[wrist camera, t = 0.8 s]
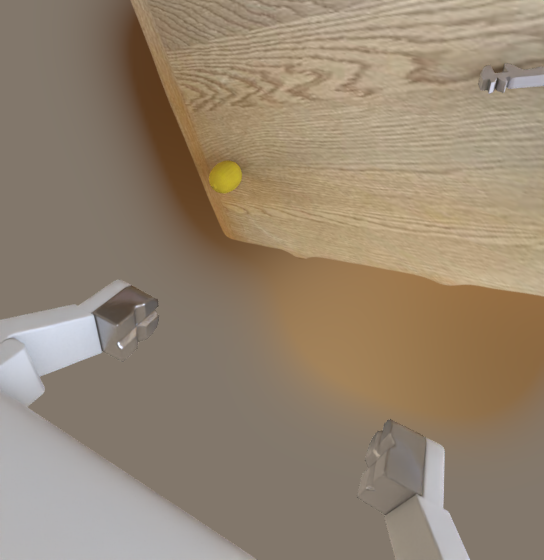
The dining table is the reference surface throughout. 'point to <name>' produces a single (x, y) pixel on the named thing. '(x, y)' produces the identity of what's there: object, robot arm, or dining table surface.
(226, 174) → the lemon
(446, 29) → the dining table surface
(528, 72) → the caliper
